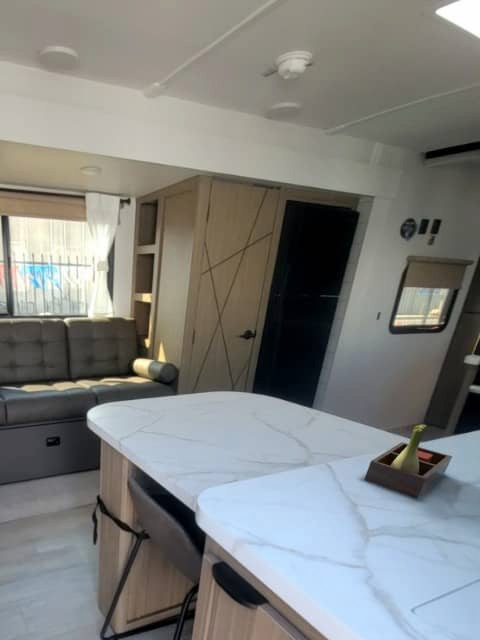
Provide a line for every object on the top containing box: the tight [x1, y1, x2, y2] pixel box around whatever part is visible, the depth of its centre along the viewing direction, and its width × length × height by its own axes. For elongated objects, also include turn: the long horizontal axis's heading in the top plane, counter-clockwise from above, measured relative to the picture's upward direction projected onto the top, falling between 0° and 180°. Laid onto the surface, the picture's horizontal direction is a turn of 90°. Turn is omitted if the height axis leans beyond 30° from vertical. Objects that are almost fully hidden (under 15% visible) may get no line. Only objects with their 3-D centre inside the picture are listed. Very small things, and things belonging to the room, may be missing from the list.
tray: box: [363, 441, 453, 500], centre depth 87 cm, size 18×10×4 cm, turn 129°
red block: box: [417, 450, 433, 463], centre depth 89 cm, size 4×4×4 cm
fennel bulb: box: [391, 424, 427, 475], centre depth 82 cm, size 6×5×12 cm
